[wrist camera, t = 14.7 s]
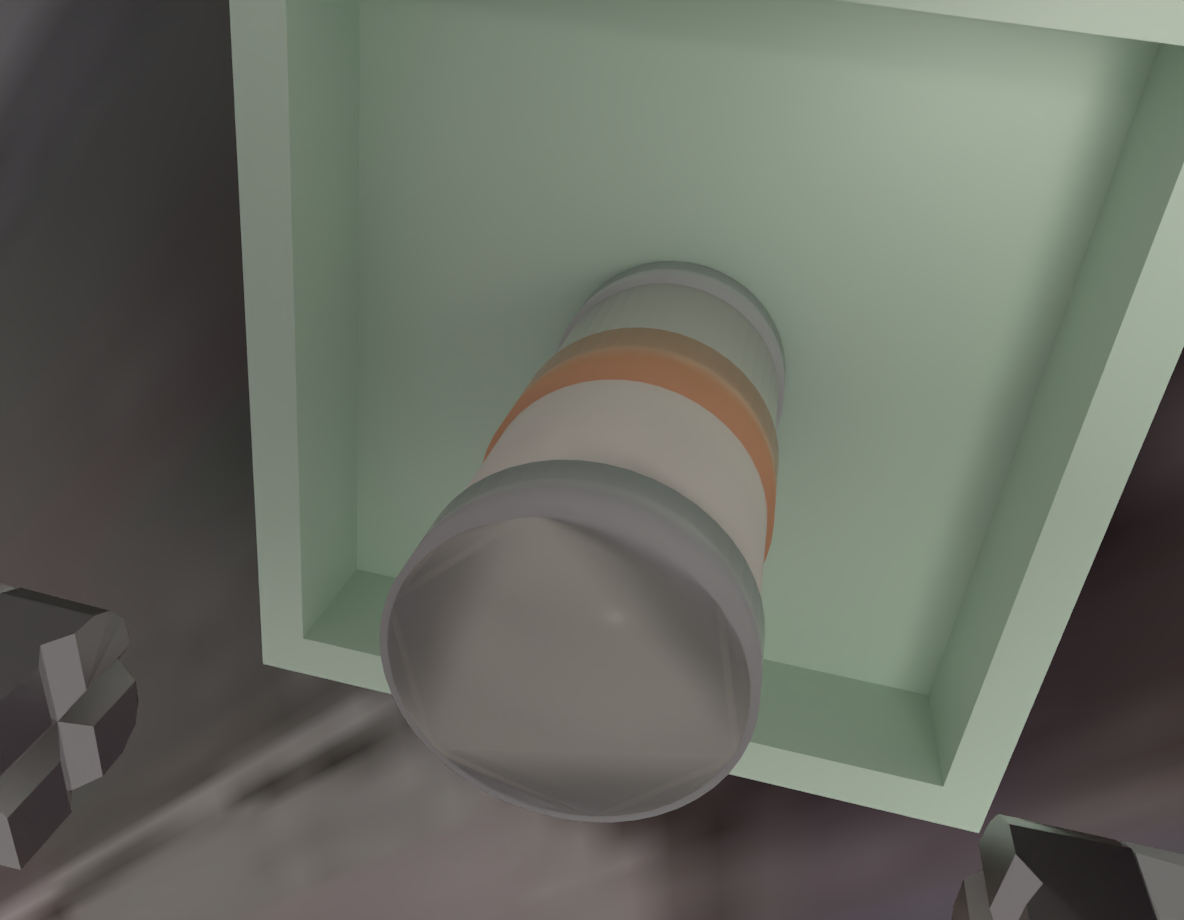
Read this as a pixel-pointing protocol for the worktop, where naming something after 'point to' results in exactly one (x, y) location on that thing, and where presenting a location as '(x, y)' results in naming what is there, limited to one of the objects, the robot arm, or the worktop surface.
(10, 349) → the worktop surface
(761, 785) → the worktop surface
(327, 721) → the worktop surface
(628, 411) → the fuse marked
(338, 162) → the tray
